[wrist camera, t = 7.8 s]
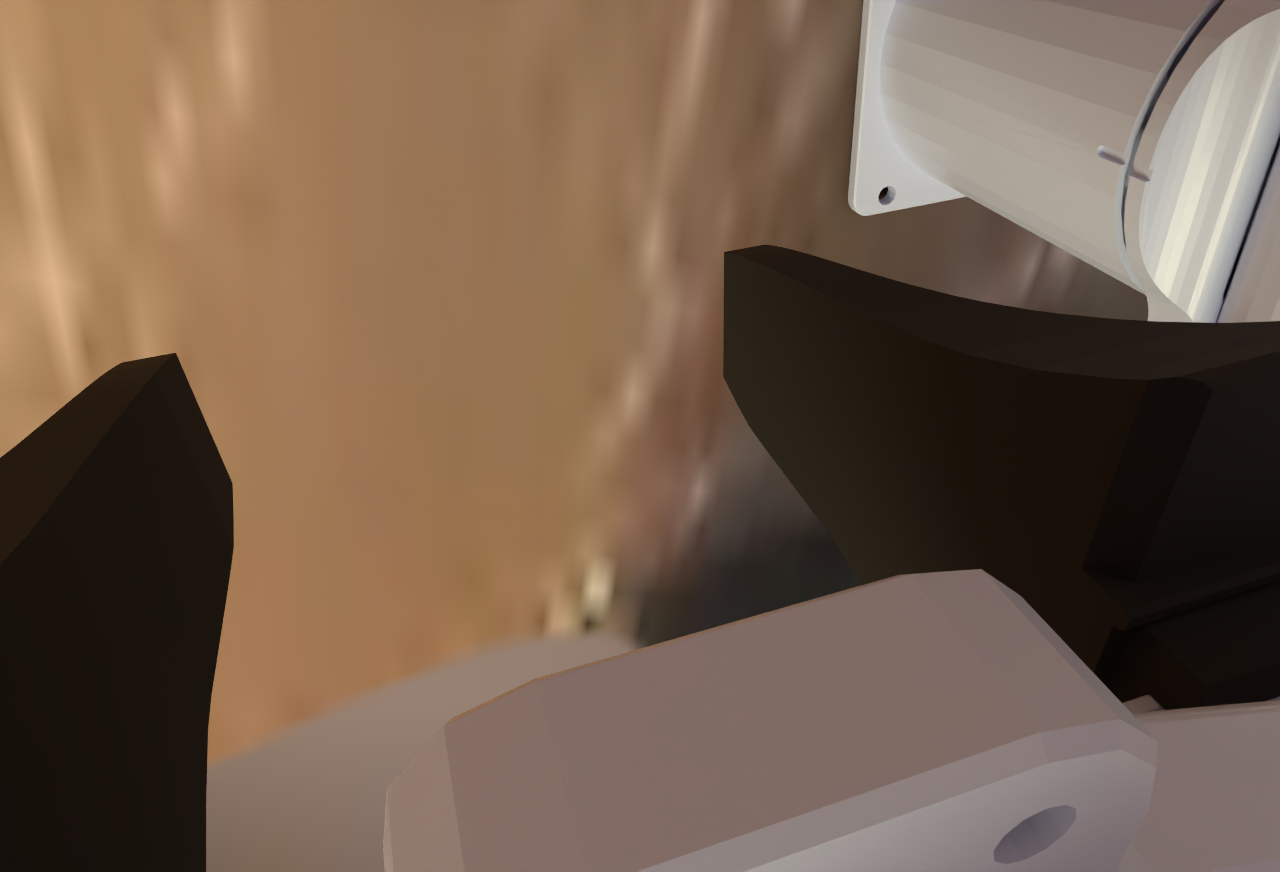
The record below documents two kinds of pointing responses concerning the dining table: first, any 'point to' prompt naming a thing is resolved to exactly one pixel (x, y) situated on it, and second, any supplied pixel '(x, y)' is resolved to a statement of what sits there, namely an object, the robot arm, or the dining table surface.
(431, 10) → the dining table surface
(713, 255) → the dining table surface
